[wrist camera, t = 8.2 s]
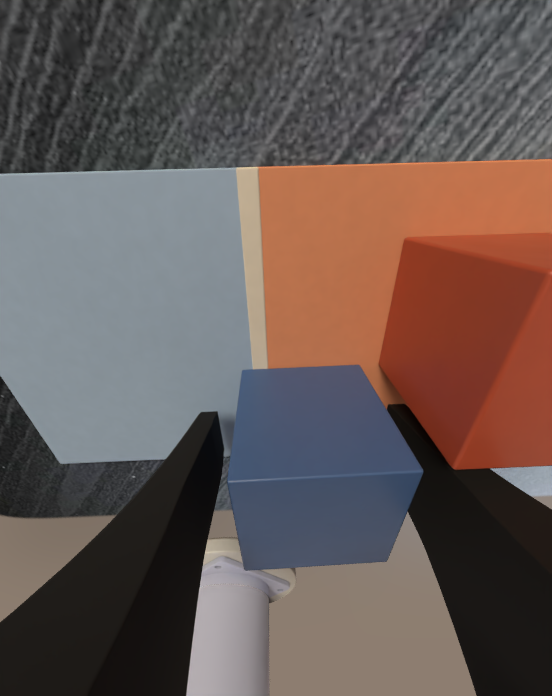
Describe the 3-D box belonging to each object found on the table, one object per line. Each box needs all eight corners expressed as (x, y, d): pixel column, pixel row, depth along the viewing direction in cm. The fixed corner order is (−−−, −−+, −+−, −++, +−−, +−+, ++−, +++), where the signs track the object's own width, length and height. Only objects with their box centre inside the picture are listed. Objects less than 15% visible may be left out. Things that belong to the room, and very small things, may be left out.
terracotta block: (377, 364, 9) (452, 472, 6) (403, 236, 7) (552, 270, 4) (493, 359, 10) (645, 463, 6) (552, 232, 7) (859, 260, 4)
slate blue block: (250, 449, 12) (244, 571, 8) (241, 369, 9) (226, 482, 6) (346, 444, 12) (387, 562, 8) (359, 363, 9) (425, 471, 6)
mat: (67, 454, 12) (59, 465, 12) (-110, 179, 7) (-139, 177, 6) (460, 438, 12) (468, 447, 12) (592, 159, 7) (615, 157, 7)
